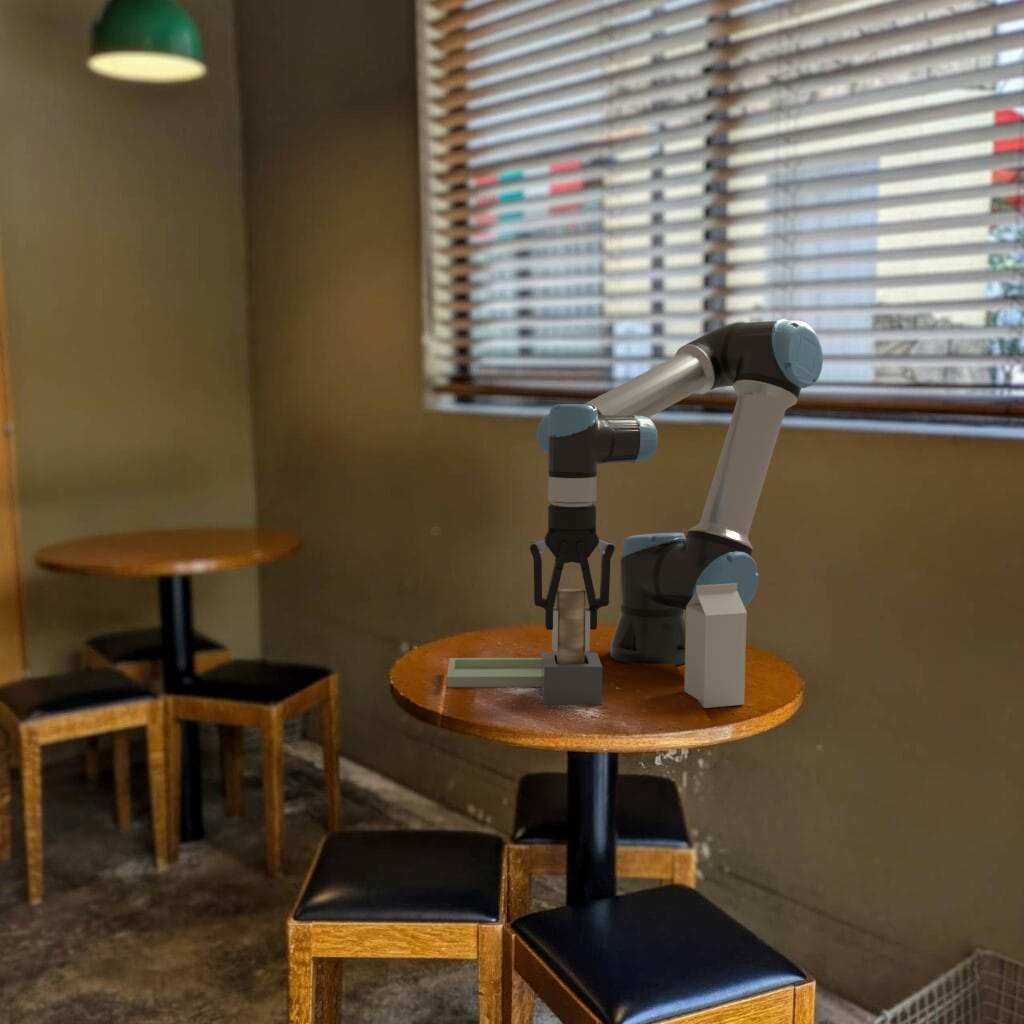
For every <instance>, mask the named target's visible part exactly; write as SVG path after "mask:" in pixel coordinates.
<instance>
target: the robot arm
mask: <svg viewBox="0 0 1024 1024" xmlns="http://www.w3.org/2000/svg"><path fill="white" fill-rule="evenodd" d="M823 355H824V354H823V348H822V345H821V343H820V338H819V336H818V335H817V333H816V332H815V329H813V328H812V327H811V326H810V325H809V324H807V323H806V322H804V321H800V320H788V319H779V320H771V321H770V320H769V321H750V322H749V321H748V322H747V321H746V322H744V321H741V322H734V323H730V324H727V325H724V326H721V327H718V328H717V329H714V330H712V331H710V332H708V333H705V334H704V335H701V336H699V337H698V338H696V339H694V340H692V341H689V342H688V343H686V344H684V345H683V346H681V347H679V348H678V349H677V350H676V352H675V354H674V356H673V357H671V358H669V359H667V360H665V361H664V362H662V363H659V364H658V365H656V366H655V367H652V368H650V369H648V370H647V371H644V372H642V373H641V374H639V375H637V376H635V377H633V378H631V379H629V380H627V381H626V382H623V383H622V384H620V385H618V386H615V387H614V388H612V389H610V390H608V391H606V392H605V393H603V394H600V395H599V396H597V397H595V398H592V399H591V400H590V401H587V402H585V403H583V404H582V403H579V404H577V403H576V404H575V403H571V404H570V403H567V404H565V403H561V404H554V405H553V406H551V408H550V410H549V413H548V414H546V415H545V416H544V417H543V418H542V419H541V420H540V422H539V423H538V426H537V430H536V439H537V443H538V445H539V447H540V450H541V451H543V452H544V453H545V454H547V455H548V457H547V458H548V483H547V484H548V487H547V488H548V489H547V500H548V501H549V502H550V503H551V504H549V506H548V507H547V532H546V534H545V536H544V539H543V540H542V539H541V540H539V541H537V542H532V541H531V542H530V543H529V546H528V547H529V550H530V553H531V556H532V558H533V559H532V560H533V565H532V566H533V601H534V605H535V606H536V607H540V608H542V609H544V610H545V613H544V614H545V615H544V622H545V624H544V625H545V629H546V630H547V631H548V630H549V631H551V648H552V652H558V610H557V607H555V603H556V600H557V599H556V598H557V591H558V590H559V586H560V581H561V577H562V573H563V570H564V565H565V564H569V563H576V564H579V566H580V571H581V575H582V580H583V584H584V589H585V590H584V591H585V595H586V598H587V603H588V607H585V652H590V651H591V631H592V630H593V631H594V630H597V627H598V611H599V609H600V608H604V607H607V606H609V605H610V584H611V583H610V582H611V579H610V578H611V559H612V557H613V554H614V551H615V549H616V548H615V545H614V544H613V543H612V542H611V541H610V542H606V541H604V540H601V539H600V537H599V536H598V534H597V506H595V504H594V502H596V501H597V477H598V476H597V474H598V472H597V470H598V465H602V464H617V463H618V464H619V463H620V464H621V463H631V464H635V463H636V462H643V461H647V460H649V459H650V458H651V457H653V455H654V454H655V452H656V450H657V447H658V443H659V442H658V437H659V436H658V431H657V427H656V425H655V423H654V422H653V421H652V420H651V419H650V418H651V417H653V416H654V415H656V414H658V413H660V412H662V411H663V410H665V409H668V408H669V407H671V406H673V405H674V404H676V403H678V402H681V401H682V400H683V399H686V398H687V397H689V396H691V395H693V394H695V395H696V394H697V395H703V394H706V393H708V392H710V391H711V390H714V389H718V388H723V387H732V388H733V389H734V391H735V393H736V396H737V400H736V403H735V406H734V410H733V412H732V416H731V420H730V423H729V426H728V430H727V432H726V436H725V439H724V441H723V446H722V449H721V452H720V455H719V458H718V462H717V466H716V468H715V472H714V475H713V479H712V482H711V484H710V488H709V491H708V494H707V498H706V501H705V505H704V507H703V512H702V514H701V518H700V521H699V522H698V523H697V524H696V525H694V526H692V527H690V528H689V529H688V531H687V534H686V535H685V533H683V532H659V533H657V532H656V533H646V534H645V533H644V534H635V535H630V536H627V537H625V538H624V540H623V542H622V545H621V554H620V555H621V556H620V559H619V560H620V615H619V618H618V620H617V621H618V622H617V624H616V627H615V630H614V633H613V636H612V639H611V642H610V657H611V658H612V659H613V660H615V661H617V662H621V663H623V664H628V665H635V664H636V665H637V664H638V665H641V664H642V665H643V664H644V665H651V664H654V665H655V664H656V665H657V664H660V665H663V664H667V665H668V664H669V665H670V664H671V665H672V664H673V665H675V666H678V665H683V664H684V665H685V640H686V618H685V611H686V606H687V604H688V603H689V602H690V600H691V599H692V597H693V596H694V594H695V593H696V586H700V585H718V584H735V583H736V584H737V591H738V594H739V596H740V598H741V601H742V603H743V605H744V607H745V608H747V607H748V605H749V604H750V602H752V599H753V597H754V596H755V595H756V592H757V588H758V584H759V572H757V571H758V568H759V567H758V564H757V563H756V561H755V560H754V558H753V557H752V554H753V551H754V547H753V546H752V544H751V542H750V540H749V533H750V529H751V527H752V523H753V520H754V517H755V513H756V510H757V506H758V503H759V500H760V497H761V494H762V490H763V486H764V482H765V480H766V476H767V472H768V469H769V467H770V463H771V459H772V456H773V452H774V451H775V448H776V447H775V446H776V442H777V440H778V436H779V432H780V430H781V427H782V423H783V420H784V416H785V413H786V411H787V410H788V409H790V408H791V407H793V406H794V405H796V404H797V403H798V400H799V397H800V393H801V389H807V388H808V387H811V386H812V385H814V383H816V382H817V381H818V380H819V378H820V377H821V374H822V369H823V361H824V356H823ZM546 547H547V548H548V550H549V551H550V552H551V553H552V555H553V556H554V557H555V558H554V564H553V567H552V568H553V569H552V573H551V578H550V582H549V586H548V591H547V594H546V598H544V597H543V571H542V570H543V567H542V565H543V563H542V556H543V555H544V554H545V548H546ZM597 547H598V553H599V554H600V555H601V558H600V583H599V586H600V587H599V597H598V598H597V597H596V592H595V587H594V584H593V579H592V575H591V569H590V563H589V557H590V556H591V555H592V553H593V552H594V550H595V549H596V548H597Z"/></svg>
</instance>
